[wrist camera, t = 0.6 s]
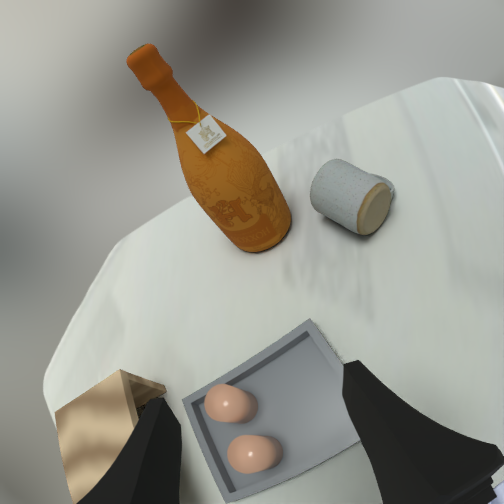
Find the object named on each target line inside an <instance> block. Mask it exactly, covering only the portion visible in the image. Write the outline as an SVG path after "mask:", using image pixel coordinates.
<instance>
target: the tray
mask: <svg viewBox="0 0 504 504" xmlns="http://www.w3.org/2000/svg"><path fill="white" fill-rule="evenodd" d="M343 367H344V366H343V364H342V363H341V362H340V360H339V359H338V357H337V356H336V354H335V353H334V352H333V350H332V349H331V347H330V346H329V344H328V343H327V342H326V340H325V339H324V337H323V336H322V334H321V333H320V332H319V330H318V329H317V327H316V326H315V324H314V323H313V322H312V320H311V319H310V318H309V319H308V320H306V321H305V322H304V323H302V324H301V325H299V326H298V327H296V328H295V329H294V330H292V331H291V332H289V333H288V334H286V335H285V336H283V337H282V338H281V339H279V340H278V341H276V342H275V343H273V344H272V345H270V346H269V347H267V348H266V349H264V350H263V351H261V352H259V353H258V354H256V355H255V356H253V357H252V358H250V359H249V360H247V361H246V362H244V363H242V364H241V365H239V366H238V367H236V368H234V369H233V370H231V371H230V372H228V373H226V374H225V375H223V376H221V377H220V378H218V379H216V380H215V381H213V382H211V383H210V384H208V385H206V386H205V387H203V388H201V389H199V390H198V391H196V392H194V393H193V394H191V395H189V396H187V397H185V398H184V399H182V401H183V404H184V407H185V410H186V412H187V415H188V418H189V420H190V423H191V426H192V428H193V431H194V433H195V436H196V438H197V441H198V443H199V446H200V448H201V450H202V453H203V455H204V457H205V460H206V462H207V464H208V467H209V469H210V471H211V473H212V476H213V478H214V480H215V482H216V484H217V486H218V488H219V491H220V493H221V495H222V497H223V499H224V501H225V503H230V502H233V501H236V500H239V499H242V498H245V497H247V496H250V495H253V494H255V493H258V492H260V491H263V490H265V489H268V488H270V487H272V486H275V485H277V484H279V483H282V482H284V481H286V480H288V479H290V478H292V477H295V476H297V475H299V474H301V473H303V472H305V471H307V470H309V469H311V468H313V467H315V466H317V465H318V464H320V463H322V462H324V461H326V460H328V459H329V458H331V457H333V456H335V455H337V454H338V453H340V452H342V451H343V450H345V449H347V448H348V447H350V446H352V445H353V444H355V443H357V442H358V441H360V438H359V436H358V434H357V432H356V430H355V427H354V425H353V423H352V421H351V419H350V417H349V414H348V411H347V409H346V406H345V403H344V399H343V396H342V387H343ZM218 384H227V385H230V386H233V387H236V388H239V389H242V390H245V391H248V392H250V393H252V394H253V395H254V396H255V398H256V400H257V403H258V410H257V413H256V415H255V417H254V418H253V419H252V420H251V421H249V422H247V423H244V424H238V423H229V422H220V421H216V420H213V419H212V418H211V417H209V415H208V414H207V412H206V410H205V406H204V401H205V397H206V394H207V393H208V391H209V390H210V389H211V388H212V387H214V386H215V385H218ZM242 435H264V436H271V437H273V438H275V439H277V440H278V441H279V442H280V444H281V446H282V449H283V457H282V459H281V461H280V463H279V464H278V465H277V466H275V467H274V468H271V469H268V470H264V471H259V472H255V473H250V474H245V473H241V472H238V471H237V470H235V469H234V468H233V467H232V466H231V465H230V463H229V461H228V457H227V450H228V447H229V445H230V443H231V442H232V441H233V440H234V439H235V438H237V437H239V436H242Z"/></svg>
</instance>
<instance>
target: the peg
mask: <svg viewBox="0 0 504 504" xmlns="http://www.w3.org/2000/svg"><path fill="white" fill-rule="evenodd" d="M204 406H205V410H206V412H207V414H208V415H209V417H211V418H212V419H213V420H216V421H220V422H229V423H238V424H244V423H247V422H249V421H251V420H252V419H253V418H254V417H255V415H256V413H257V410H258V403H257V400H256V398H255V396H254V395H253V394H252V393H250V392H248V391H245V390H242V389H239V388H236V387H233V386H230V385H227V384H218V385H215V386H214V387H212V388H211V389H210V390H209V391H208V393H207V394H206V397H205V401H204Z"/></svg>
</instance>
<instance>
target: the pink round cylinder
mask: <svg viewBox="0 0 504 504" xmlns="http://www.w3.org/2000/svg"><path fill="white" fill-rule="evenodd" d="M227 457H228V461H229V463H230V465H231V466H232V467H233V468H234V469H235V470H237V471H238V472H241V473H245V474H250V473H255V472H259V471H264V470H268V469H271V468H274V467H275V466H277V465H278V464H279V463H280V461H281V459H282V457H283V449H282V446H281V444H280V442H279V441H278V440H277V439H275V438H273V437H271V436H264V435H242V436H239V437H237V438H235V439H234V440H233V441H232V442H231V443H230V445H229V447H228V450H227Z"/></svg>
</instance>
